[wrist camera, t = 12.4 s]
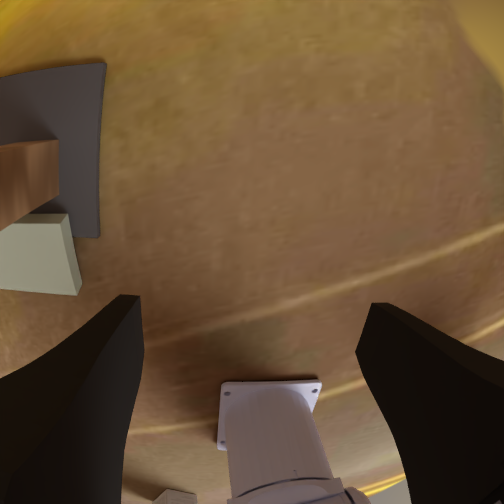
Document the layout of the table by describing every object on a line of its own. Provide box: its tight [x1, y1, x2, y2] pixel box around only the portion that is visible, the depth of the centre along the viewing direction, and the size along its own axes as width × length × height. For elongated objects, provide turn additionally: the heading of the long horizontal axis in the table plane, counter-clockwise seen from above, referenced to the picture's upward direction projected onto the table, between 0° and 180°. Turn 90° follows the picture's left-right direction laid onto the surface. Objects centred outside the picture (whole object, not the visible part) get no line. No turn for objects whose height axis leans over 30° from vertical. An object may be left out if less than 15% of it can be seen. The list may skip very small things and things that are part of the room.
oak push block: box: [0, 140, 59, 231], centre depth 12 cm, size 3×3×7 cm
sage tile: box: [0, 214, 82, 296], centre depth 16 cm, size 1×7×5 cm
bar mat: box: [0, 63, 107, 238], centre depth 15 cm, size 10×8×1 cm
